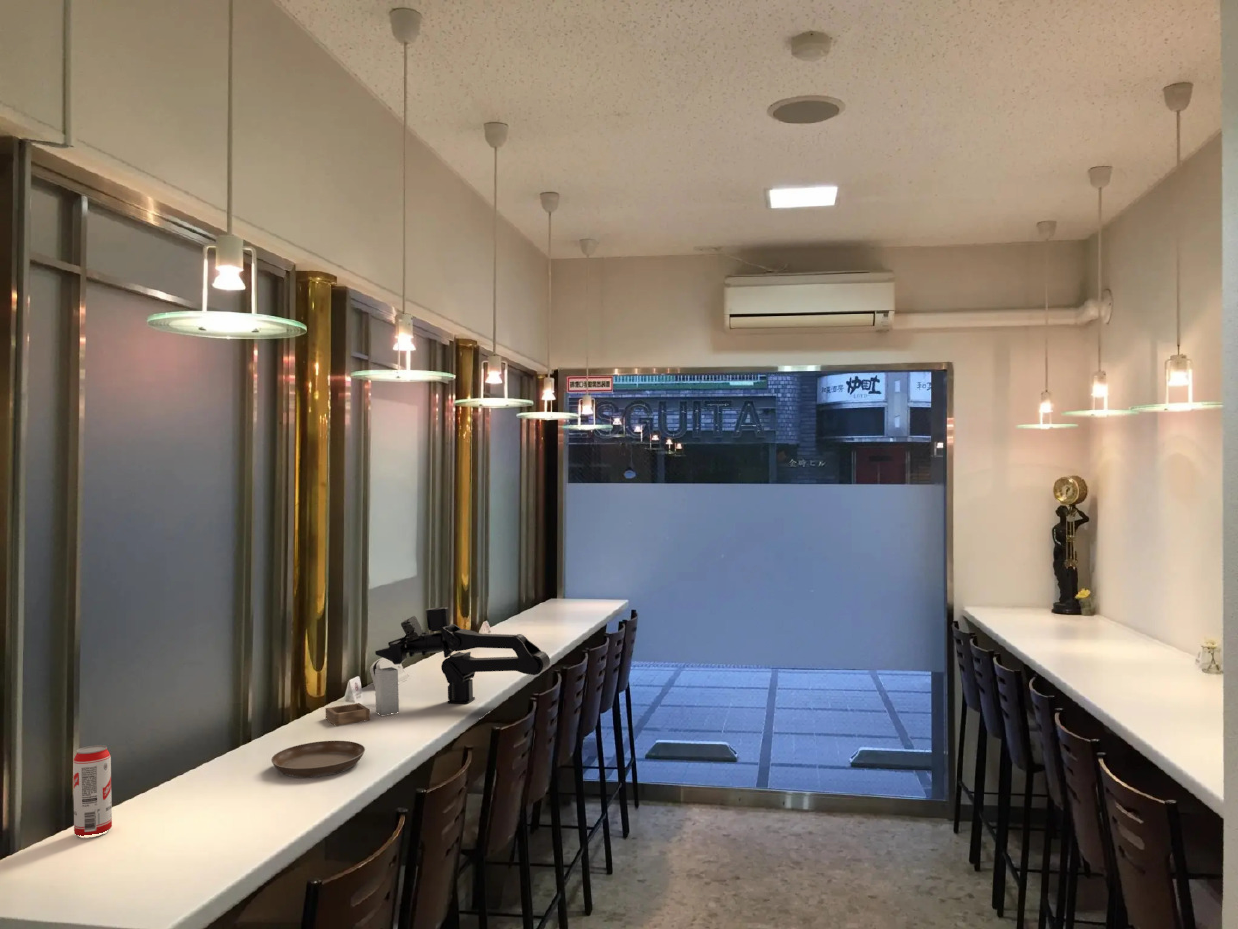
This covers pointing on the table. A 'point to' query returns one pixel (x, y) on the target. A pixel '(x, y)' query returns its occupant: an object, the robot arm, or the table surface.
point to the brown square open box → (347, 714)
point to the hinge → (386, 664)
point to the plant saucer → (318, 758)
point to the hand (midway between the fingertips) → (382, 648)
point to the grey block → (386, 690)
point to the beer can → (92, 790)
